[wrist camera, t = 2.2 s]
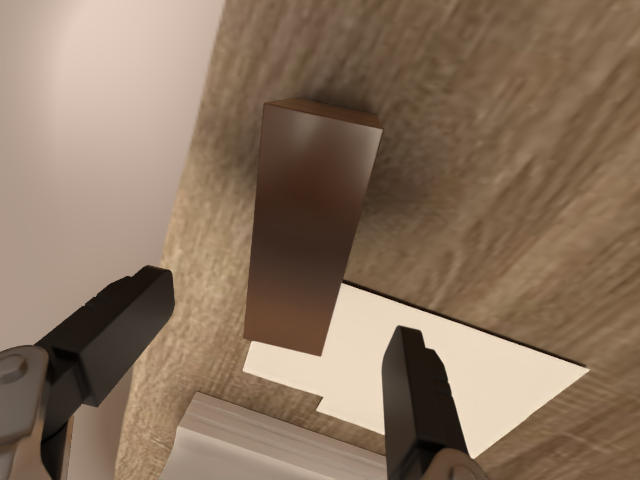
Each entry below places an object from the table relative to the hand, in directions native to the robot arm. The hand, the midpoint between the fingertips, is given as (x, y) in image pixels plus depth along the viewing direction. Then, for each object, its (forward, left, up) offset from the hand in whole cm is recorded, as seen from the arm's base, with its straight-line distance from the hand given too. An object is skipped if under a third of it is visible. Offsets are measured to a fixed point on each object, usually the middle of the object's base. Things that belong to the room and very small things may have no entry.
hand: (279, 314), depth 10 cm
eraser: (0, 0, -10) cm, 10 cm away
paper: (+14, +9, -10) cm, 19 cm away
